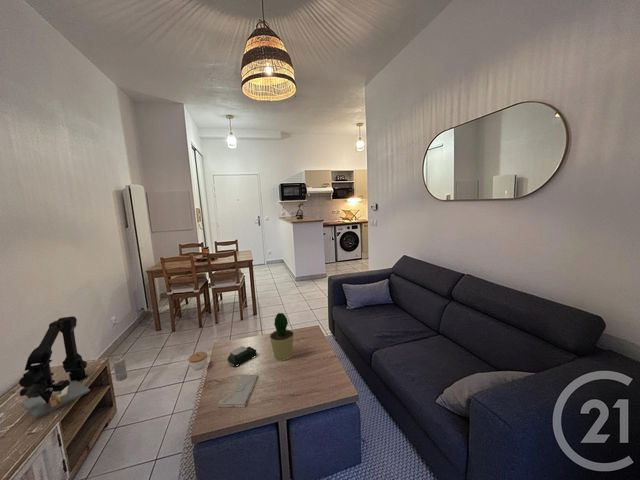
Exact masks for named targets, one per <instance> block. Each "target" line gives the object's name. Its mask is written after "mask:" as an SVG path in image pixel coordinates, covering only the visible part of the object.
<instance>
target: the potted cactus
mask: <svg viewBox="0 0 640 480" xmlns="http://www.w3.org/2000/svg"><path fill="white" fill-rule="evenodd" d="M287 317H288V315H286V314H285V312H283V313H282V312H278V313H277V314H275V316H274V320H273V326H274V327H275V330H274V331H273V332H271V333H270V335H269V339H270V343H271V346H272V347H271V348H272V352H273V356H274V358H276V359H278V360H277V361H279V360H284V359H287V358H289V357H290V356H291V355H293V344H294V332H293V331H292V330H290V329H287V327H288V326H289V320H288V318H287ZM291 357H292V356H291ZM276 359H275V360H276ZM289 359H290V358H289ZM287 360H288V359H287ZM284 361H285V360H284Z"/></svg>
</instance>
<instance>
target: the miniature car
mask: <svg viewBox="0 0 640 480" xmlns="http://www.w3.org/2000/svg"><path fill="white" fill-rule="evenodd" d="M257 354H258V353H257V349H255V348H254V347H251V346H247V347H245V346H240V347H237V348H235V349H233V350H232V351H230V353H229V355H228V358H227V363H228V364H229V365H231V366H233V367H234V366H235V367H236V365H238V364H240V365H241V363H244V362H245V361H247V360H249V359H252V357H254V356H257Z"/></svg>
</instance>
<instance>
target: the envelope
mask: <svg viewBox="0 0 640 480" xmlns="http://www.w3.org/2000/svg"><path fill="white" fill-rule="evenodd" d="M237 376H239V377H240V376H241V377H240V379H241V380H240V379H239V380H238V377H237ZM257 376H258V377H259V375H258V374H234V375H233V377H232V379H231V380H230V383H232V381H233V380H234V379H235V383H236V387H235V388H234V391H233V392H232V393H230V394H229V395H228V396H226V397H225V398H224V399H222V400H220V399H219V400H218V403H217V404H218V405H245V403H246V401H247V398H248V396H249V394H250V391H251V389H252V387H253V385H254V383H255V384H256V382H255V380H256V378H257ZM257 379H258V378H257ZM256 381H257V380H256ZM230 383H229V384H228V386H227V387H229V386H230ZM240 384H241V385H240ZM254 386H255V385H254ZM253 388H254V387H253ZM252 390H253V389H252ZM226 391H227V390H226V389H225V391H224V392H223V394H225V393H226ZM251 392H252V391H251ZM233 394H234V395H235V396H234V395H233ZM250 395H251V394H250ZM230 396H233V398H231V399H232V400H231V399H229V400H228V401H226V403H222V402H224V401H225V400H226V399H228V398H229V397H230ZM249 397H250V396H249ZM248 399H249V398H248ZM247 402H248V401H247ZM246 404H247V403H246ZM245 406H246V405H245Z"/></svg>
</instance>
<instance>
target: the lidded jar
mask: <svg viewBox="0 0 640 480" xmlns="http://www.w3.org/2000/svg"><path fill="white" fill-rule="evenodd" d="M187 360H188V364H189V367H190V368H191V369H193V370H194V371H201V370H203V369H204V368H205V366H206V364H207V363H208V353H207V352H206V351H197V352H194V353H192V354H191V355H190V356H189V357H188V359H187Z"/></svg>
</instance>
